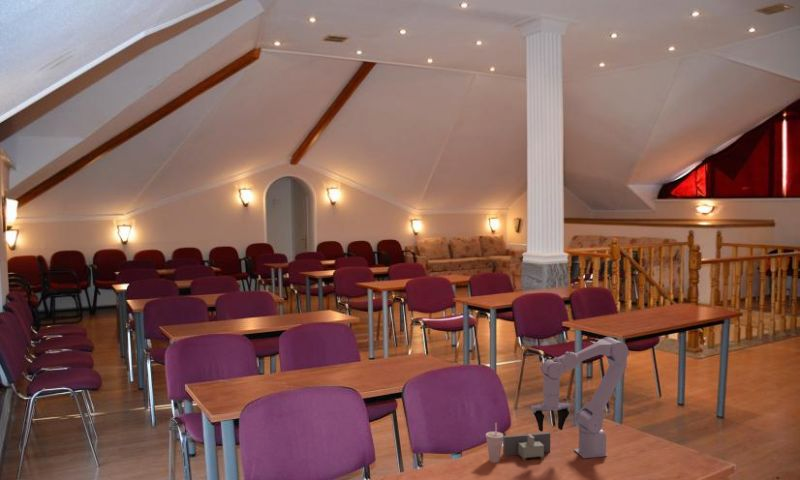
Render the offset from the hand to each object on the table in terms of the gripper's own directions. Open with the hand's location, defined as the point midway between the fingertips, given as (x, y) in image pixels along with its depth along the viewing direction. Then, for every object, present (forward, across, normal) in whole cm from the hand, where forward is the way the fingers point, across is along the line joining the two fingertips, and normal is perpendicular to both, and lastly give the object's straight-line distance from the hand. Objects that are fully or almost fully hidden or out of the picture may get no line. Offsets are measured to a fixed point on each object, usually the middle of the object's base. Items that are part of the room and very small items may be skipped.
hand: (550, 429), depth 249 cm
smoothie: (+11, -21, +2) cm, 23 cm away
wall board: (+10, -7, +4) cm, 13 cm away
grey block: (+10, -7, +2) cm, 13 cm away
